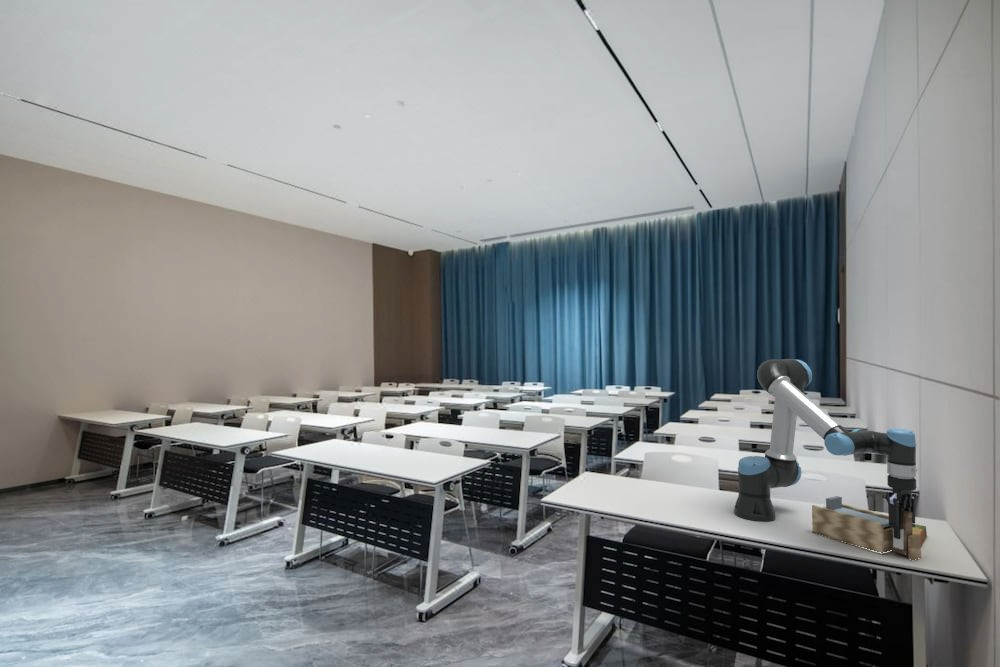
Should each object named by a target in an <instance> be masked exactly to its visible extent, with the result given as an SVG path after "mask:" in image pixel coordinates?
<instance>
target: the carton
mask: <svg viewBox="0 0 1000 667" xmlns="http://www.w3.org/2000/svg"><path fill="white" fill-rule="evenodd" d="M914 525H915V527H912V529H913V535H914V534H919V535H921V547H923V545H924V542H925V540H926V539H927V537H928V535H927V526H926V525H922V524H916V523H915V524H914Z"/></svg>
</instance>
